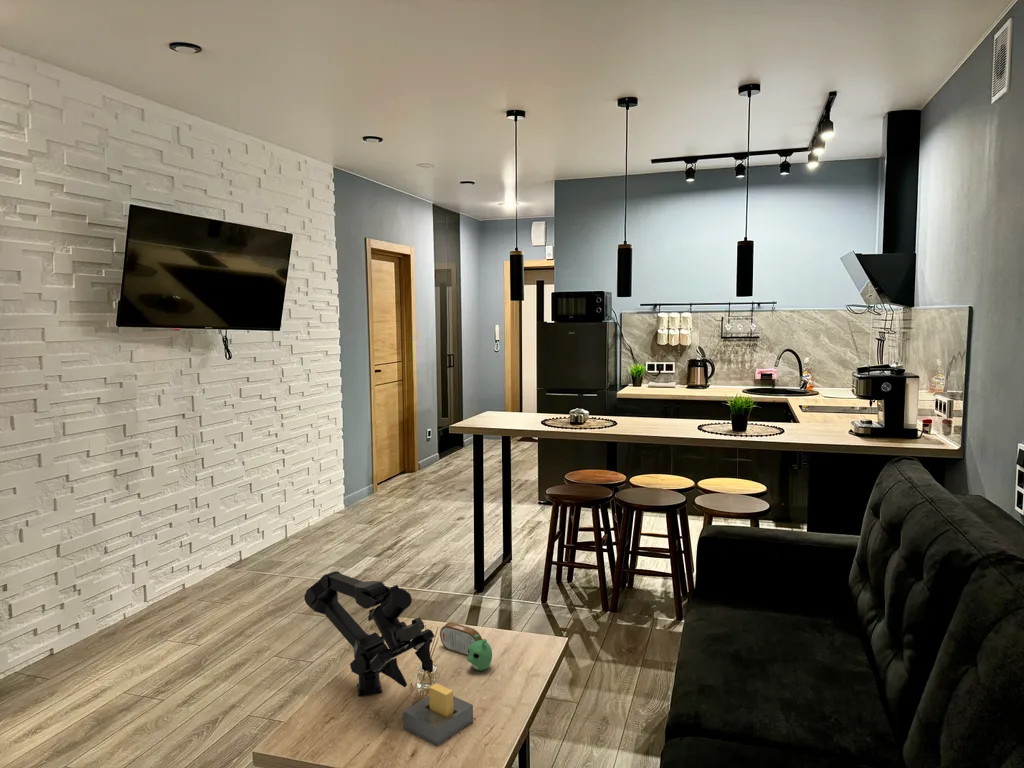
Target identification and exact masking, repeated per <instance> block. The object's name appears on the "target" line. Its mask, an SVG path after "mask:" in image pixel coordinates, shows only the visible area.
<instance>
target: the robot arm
mask: <svg viewBox="0 0 1024 768" xmlns="http://www.w3.org/2000/svg"><path fill="white" fill-rule="evenodd" d="M338 593H340V594H343V595H345V596H349V597H350V598H352V599H354V600H355V603H356V605H358V606H360V607H361V608H362V609H365V610H368V609H369V613H368V616H367V621H368V622H370V621H374V623H375V626H376V628H377V630H379V632H380V634H381V635H379V633H377V632H373V633H371V634H368V633H367V632H366V631H365V630H364V629H363V627H362V626H360V625H359V623H358V622H357V621H356V620H355V619H354V618H353V617H352V615H351V614H350V613H349V612H348V611H347V609H345V607H344V606H343V605H341V603H340V602H339V598H338V597H339V594H338ZM303 597H304V598H303V599H304V602H305V604H306V605H307V606H308V607H309V608H310V609H311V610H312V611H314V612H316V613H318V614H322V615H325V616H326V618H327V619H328V620H329V621H330V622H331V624H333V626H334V627H335V628H336V629H337V631H338V632H340V634H341V636H343V637H344V639H345V640H346V641H347V643H349V644H350V645H351V647H352V648H353V657H354V659H353V660H352V661H351V662H350V664H349V666H350V671H351V673H354V674H356V675H358V683H357V684H356V690H357V695H358V697H367V696H373V695H379V694H383V689H382V682H381V680H380V679H381V678H380V676H381V675H380V673H381V674H383V675H385V676H387V677H389V678H391V679H392V680H393V681H394V682H396V683H397V684H399V685H400V686H402V687H403V688H405V687H407V686H408V683H407V681H406V679H405V677H404V675H403V674H402V671H401V669H400V668H399V666H398V659H397V657H398V656H401V655H402V654H404V653H406V652H408V651H410V650H412V649H413V650H415V652H414V654H415V655H416V657H417V658H418V660H419V661H420V662H421V663H422V665H423V667H425V669H426V670H427V672H429V673H432V672H433V671H434V668H433V663H432V657H431V651H430V649H431V644H432V643H433V642H434V641H433V639H434V638H435V637H436V635H435V634H434V632H433V631H432V629H429V628H426V629H425V627H426V625H425V623H424V621H423V620H422V618H421V617H417V618H414V619H412V620H411V623H409V624H408V625H407V624H406V622H405V621H400V620H399V618H400V617H401V615H403V614H404V613H405V611H406V610H407V609H408V608H409V607H411V605H412V603H413V600H412V599H413V598H412V596H411V594H410V592H408V591H407V590H406V589H404V588H400V587H399V585H397V584H395V585H393V586H391V587H388V586H387V585H385V584H384V582H382V581H379V580H370V581H362V580H359V579H357V578H354V577H351V576H348V575H345V574H342V573H341V572H340V571H339V570H338V571H335V570H334V571H331V572H329V573H326V574H324V575H322V576H321V577H320V578H319V579H318V581H317V582H315V583H314V584H312V585H311V586H310V587H308V588H307V589H306V591H305V593H304V596H303ZM373 607H375V608H373ZM371 608H372V609H371Z"/></svg>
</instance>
